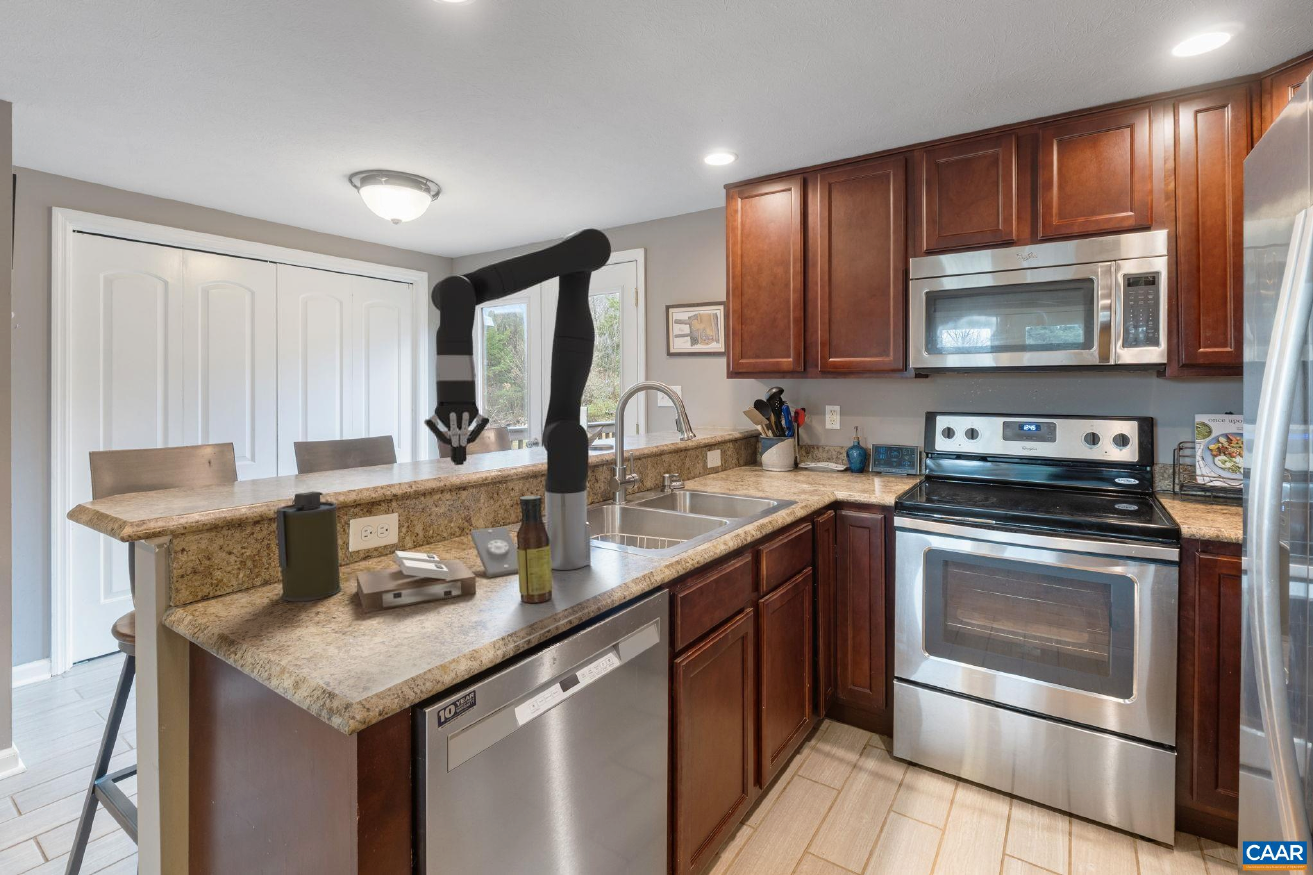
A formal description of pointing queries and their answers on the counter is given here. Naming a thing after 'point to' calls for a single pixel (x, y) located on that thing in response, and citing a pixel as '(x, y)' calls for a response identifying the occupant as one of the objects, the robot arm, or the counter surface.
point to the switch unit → (412, 586)
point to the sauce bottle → (533, 553)
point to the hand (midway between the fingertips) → (458, 464)
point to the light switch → (496, 550)
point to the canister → (308, 548)
